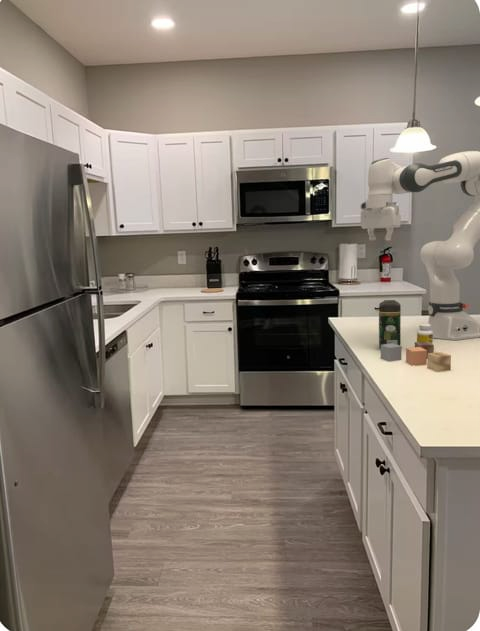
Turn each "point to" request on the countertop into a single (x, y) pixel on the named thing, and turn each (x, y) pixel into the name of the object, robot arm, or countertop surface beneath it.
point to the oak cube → (439, 361)
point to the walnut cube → (425, 346)
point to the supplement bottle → (425, 333)
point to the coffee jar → (389, 322)
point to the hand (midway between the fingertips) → (380, 240)
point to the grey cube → (391, 352)
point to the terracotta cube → (416, 356)
